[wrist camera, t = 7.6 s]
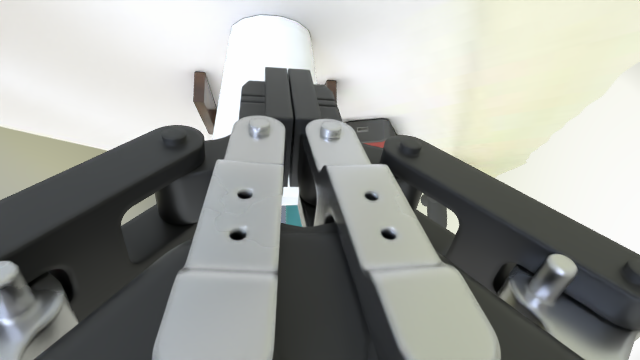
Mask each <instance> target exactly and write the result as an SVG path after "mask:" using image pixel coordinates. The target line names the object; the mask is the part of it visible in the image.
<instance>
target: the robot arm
mask: <svg viewBox="0 0 640 360" xmlns="http://www.w3.org/2000/svg"><path fill="white" fill-rule="evenodd" d="M288 177H289V183H290V187H299V195H298V210H299V215H300V220H301V224H302V227H300V226H295V225H289V224H284V223H281V206H282V196H283V188H284V187H288ZM154 193H155V197H156V202H157V204H156V205H154V206H153V207H151V208H150V209H148V210H146V211H145V212H143V213H141V214H140V215H139V216H137V217H135V218H133V219H132V220H130V221H129V222H127V223H126V224H124V225H122V226H121V220H122V218H123V216H124V214H125V213H126V212H127V210H129V209H130V208H131V207H132V206H134V205H136V204H137V203H139V202H141V201H142V200H144V199H146V198H147V197H149V196H151V195H152V194H154ZM422 193H424V194H425V195H427V196H429V197H430V198H432V199H434V200H435V201H437V202H438V203H440V204H442V205H443V206H445V207H447V208H448V209H450V210H452V211H453V212H454V213H455V214H456V216H457V218H458V220H459V229H458V231H457V233H456V235H455V234H453V233H452V232H450V231H449V230H447V229H446V228H444V227H443V226H441V225H439V224H438V223H436V222H435V221H433V220H432V219H430V218H429V217H427V216H426V215H424V214H422V213H421V212H419V211H418V210H416V208H417V206H418V203H419V200H420V197H421V195H422ZM639 337H640V255H639V254H637V253H635V252H633V251H631V250H629V249H627V248H626V247H623V246H622V245H620V244H618V243H616V242H614V241H612V240H610V239H609V238H607V237H605V236H603V235H601V234H599V233H597V232H595V231H593V230H591V229H590V228H588V227H586V226H584V225H582V224H580V223H578V222H576V221H574V220H572V219H570V218H569V217H567V216H565V215H563V214H561V213H559V212H557V211H556V210H554V209H552V208H550V207H548V206H546V205H544V204H542V203H540V202H538V201H537V200H535V199H533V198H531V197H529V196H527V195H525V194H523V193H521V192H520V191H518V190H516V189H514V188H512V187H510V186H508V185H506V184H504V183H503V182H501V181H499V180H497V179H495V178H493V177H491V176H489V175H487V174H486V173H484V172H482V171H480V170H478V169H476V168H474V167H472V166H470V165H468V164H467V163H465V162H463V161H461V160H459V159H457V158H455V157H453V156H451V155H450V154H448V153H446V152H444V151H442V150H440V149H438V148H436V147H434V146H433V145H431V144H429V143H427V142H425V141H423V140H421V139H418V138H416V137H412V136H407V135H395V136H391V137H389V138H388V139H386V141H385V143H384V147H383V148H380V147H376V146H371V145H367V144H364V143H361V142H360V141H359V139H358V137H357V135H356V133H355V131H354V129H353V128H352V127H351V126H349V125H348V124H346V123H344V122H342V119H341V116H340V113H339V109H338V107H337V103H336V101H335V97H334V94H333V92H332V91H331V90H330V89H329V88H328V87H326V86H325V85H317V84H313V80H312V76H311V72H310V70H306V69H291V68H288V73H287V68H276V67H265V81H252V80H249V81H248V82H247V83H245V84H244V85H243V86H242V90H241V100H240V110H239V120H238V121H236V122H235V123H234V125H233V128H232V132H231V134H230V135H228V136H226V137H223V138H220V139H215V140H208V141H204V136H203V134H202V133H201V132H200V131H199V130H197V129H195V128H192V127H189V126H182V125H172V126H165V127H161V128H158V129H155V130H153V131H151V132H149V133H147V134H144V135H142V136H140V137H138V138H136V139H133V140H131V141H129V142H127V143H125V144H122V145H120V146H118V147H116V148H114V149H112V150H109V151H107V152H105V153H103V154H101V155H98V156H96V157H94V158H92V159H90V160H88V161H85V162H83V163H81V164H79V165H77V166H74V167H72V168H70V169H68V170H66V171H64V172H62V173H59V174H57V175H55V176H53V177H50V178H48V179H46V180H44V181H42V182H39V183H37V184H35V185H33V186H31V187H29V188H26V189H24V190H22V191H20V192H18V193H16V194H13V195H11V196H9V197H7V198H4V199H2V200H0V360H628V359H629V356H630V353H631V349H632V347H633V344H634V341H635V340H637V339H638V338H639Z"/></svg>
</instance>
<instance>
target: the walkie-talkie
mask: <svg viewBox="0 0 640 360" xmlns="http://www.w3.org/2000/svg"><path fill="white" fill-rule="evenodd" d="M346 124H348V125H349V126H351V127H352V128H353V129H354V131H355V133H356V135H357V137H358V139H359V141H360V142H361V143H364V144H367V145H371V146H376V147H380V148H383V147H384V143H385V141H386V139H388V138H389V137H391V136H395V135H396V133H395V131H394V129H393V128H392V126H391V124H390V122H389V121H388V120H385V119H374V120H363V121H352V122H348V123H346Z"/></svg>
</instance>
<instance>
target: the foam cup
mask: <svg viewBox="0 0 640 360" xmlns="http://www.w3.org/2000/svg"><path fill="white" fill-rule="evenodd" d="M265 67H276V68H287V73H288V68H291V69H306V70H310V72H311V76H312V80H313V84H317V80H316V72H315V65H314V57H313V49H312V45H311V38H310V34H309V31H308V30H307V29H306V28H305V27H303V26H302V25H301V24H300V23H298V22H296V21H293V20H290V19H287V18H284V17H281V16H266V15H258V16H254V17H249V18H244V19H242V20H240V21H239V22H237V23H236V24H234V25H233V26H232V29H231V33H230V39H229V43H228V49H227V55H226V61H225V67H224V73H223V78H222V84H221V90H220V96H219V102H218V108H217V113H216V119H215V125H214V131H213V137H212V140H215V139H220V138H223V137H226V136H228V135H230V134H231V132H232V128H233V125H234V123H235V122H236V121H238V120H239V110H240V100H241V90H242V86H243V85H244V84H245V83H247V82H248V81H249V80H252V81H265ZM298 195H299V187H290V183H289V177H288V187H284V188H283V196H282V205H298Z"/></svg>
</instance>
